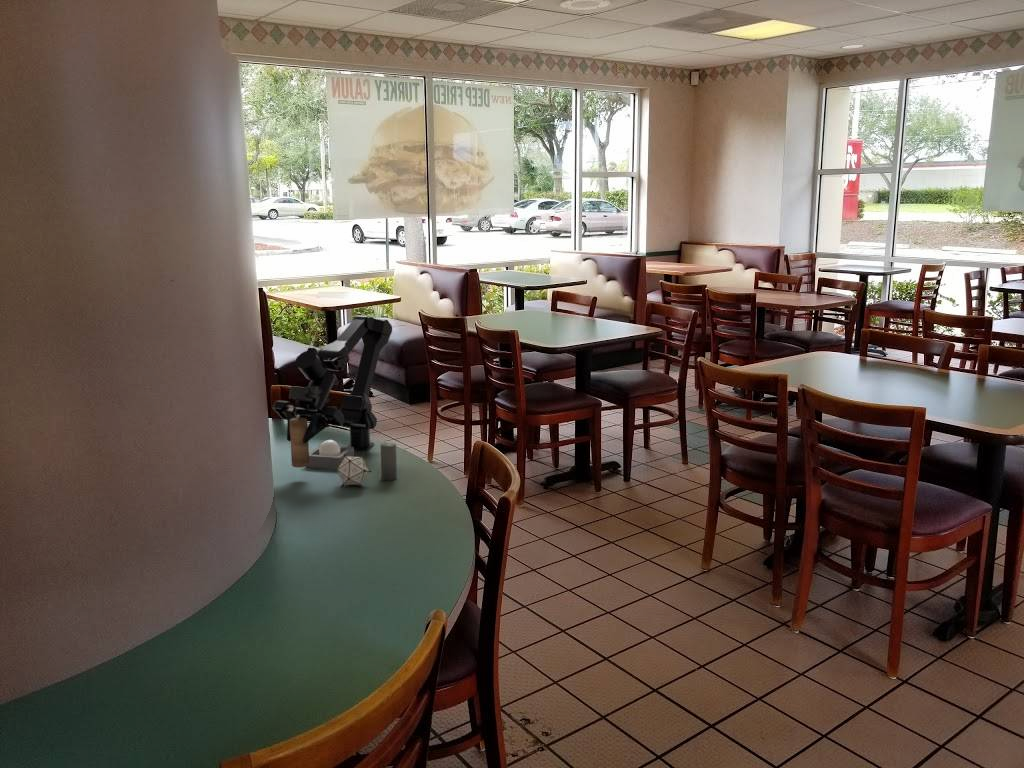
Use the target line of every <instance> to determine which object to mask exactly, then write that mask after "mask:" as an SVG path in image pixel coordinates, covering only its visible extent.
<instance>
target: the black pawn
mask: <svg viewBox="0 0 1024 768" xmlns="http://www.w3.org/2000/svg"><path fill="white" fill-rule="evenodd" d="M397 467H398V466H397V443H394V442H384V443H381V444H380V474H381V475H380V477H381V478H380V479H381V480H382V479H383V481H385V480H392V481H395V480H397V479H396V478H398V473H397V472H398V471H397ZM394 479H395V480H394Z"/></svg>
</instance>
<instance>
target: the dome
mask: <svg viewBox="0 0 1024 768" xmlns="http://www.w3.org/2000/svg"><path fill="white" fill-rule="evenodd" d="M320 445H321V446H320V448H319V455H326V456H339V455H340V447H339V446H340V445H339V444H338V443H337V441H335V440H333V439H326V440H325V441H323V442H322V443H321V444H320Z"/></svg>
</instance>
